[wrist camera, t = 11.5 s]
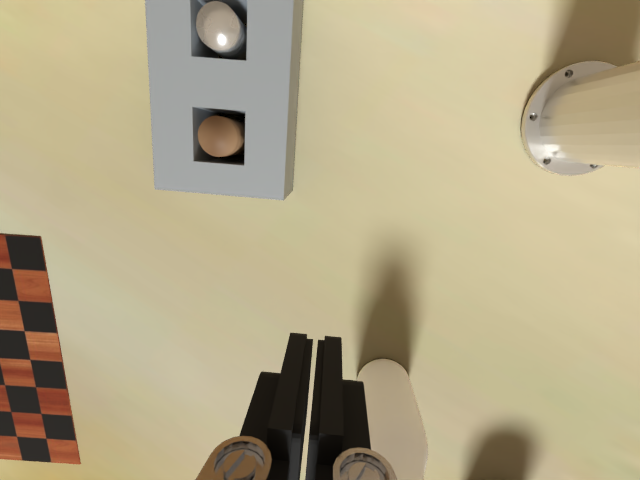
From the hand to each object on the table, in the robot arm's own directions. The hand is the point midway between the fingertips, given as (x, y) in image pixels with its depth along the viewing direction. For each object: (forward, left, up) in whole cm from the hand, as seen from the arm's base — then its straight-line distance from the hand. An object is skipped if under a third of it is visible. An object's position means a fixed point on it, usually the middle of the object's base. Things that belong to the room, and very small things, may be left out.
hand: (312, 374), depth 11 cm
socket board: (+12, -12, -35) cm, 39 cm away
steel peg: (+12, -17, -35) cm, 40 cm away
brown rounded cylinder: (+12, -7, -35) cm, 37 cm away
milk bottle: (-10, +26, -35) cm, 45 cm away
